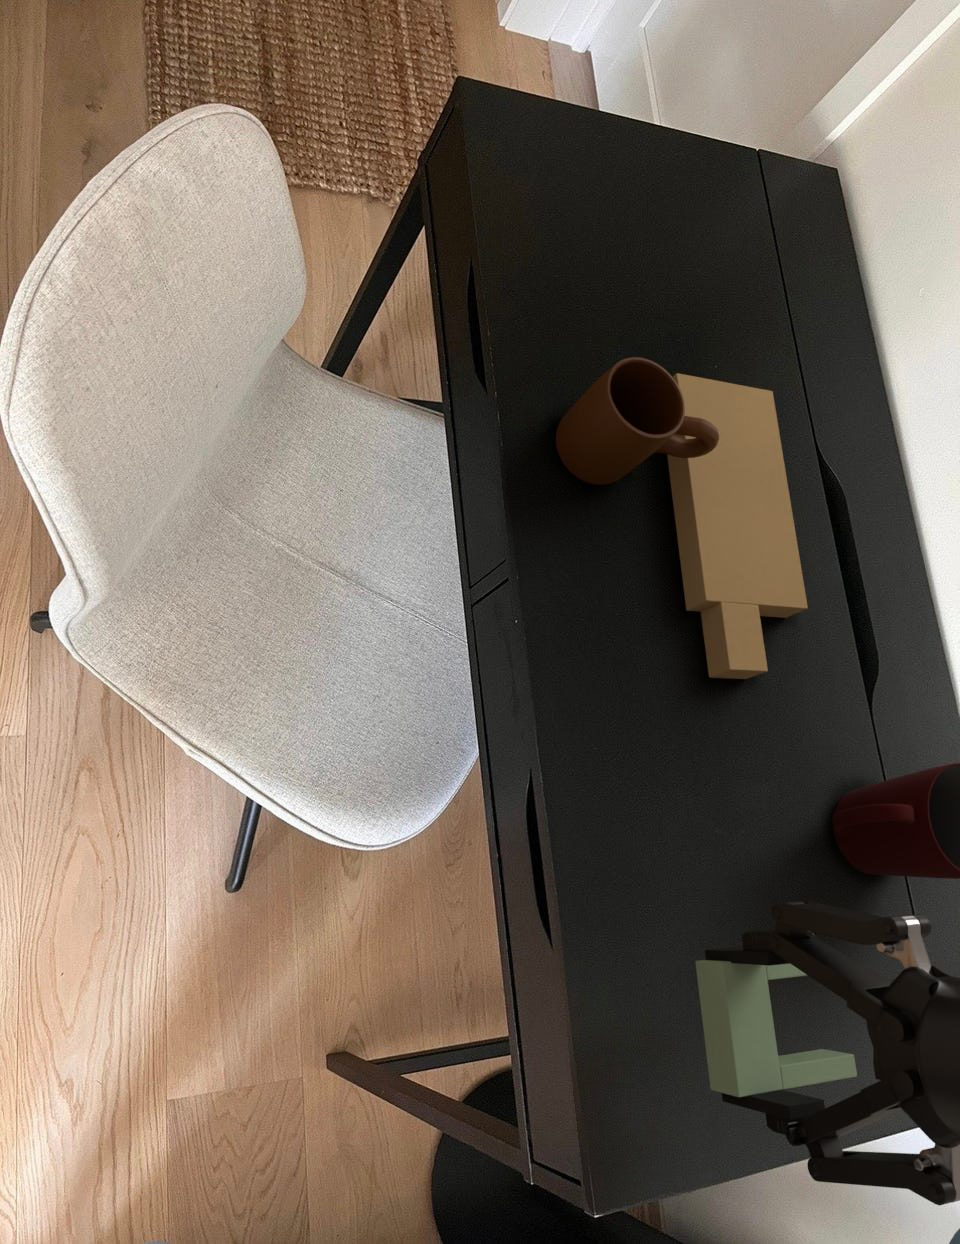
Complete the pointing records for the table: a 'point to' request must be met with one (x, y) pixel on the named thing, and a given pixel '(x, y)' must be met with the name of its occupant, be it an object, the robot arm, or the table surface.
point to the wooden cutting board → (735, 525)
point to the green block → (755, 1033)
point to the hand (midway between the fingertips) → (730, 1021)
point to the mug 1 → (629, 423)
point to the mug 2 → (903, 825)
